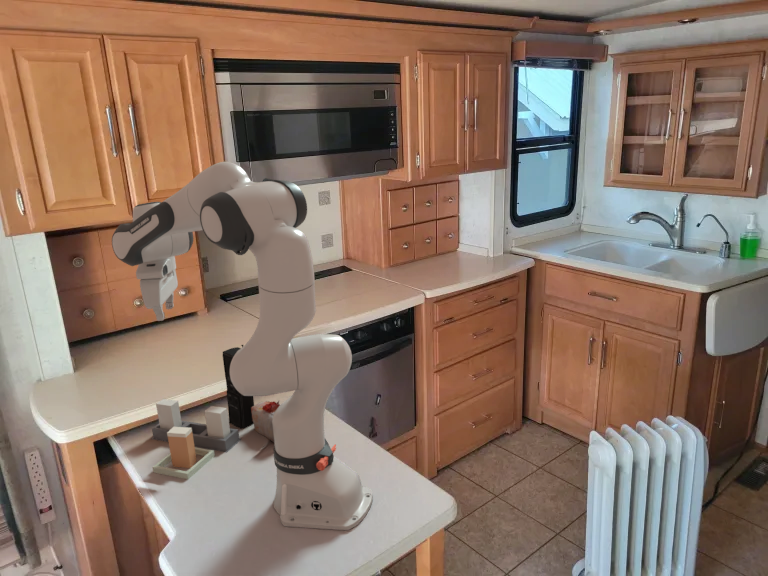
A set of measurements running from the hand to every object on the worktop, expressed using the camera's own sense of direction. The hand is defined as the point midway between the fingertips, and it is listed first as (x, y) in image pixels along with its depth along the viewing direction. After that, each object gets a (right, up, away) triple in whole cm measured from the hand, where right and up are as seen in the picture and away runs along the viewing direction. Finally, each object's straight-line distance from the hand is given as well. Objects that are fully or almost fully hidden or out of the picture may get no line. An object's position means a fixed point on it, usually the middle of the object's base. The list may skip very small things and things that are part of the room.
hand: (165, 314), depth 152 cm
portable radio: (+18, -33, +13) cm, 39 cm away
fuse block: (+7, -35, +4) cm, 36 cm away
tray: (+8, -39, -7) cm, 40 cm away
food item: (+28, -34, +6) cm, 45 cm away
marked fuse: (+8, -38, -8) cm, 40 cm away
